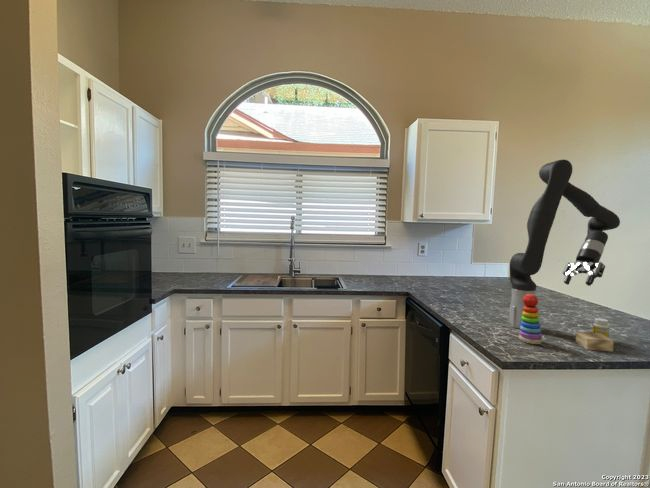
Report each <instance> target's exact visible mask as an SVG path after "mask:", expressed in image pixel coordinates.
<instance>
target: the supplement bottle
mask: <svg viewBox="0 0 650 488" xmlns="http://www.w3.org/2000/svg"><path fill="white" fill-rule="evenodd" d="M593 321H594V323H593V325H592V333H601V334H603V335H604V336H606V337H608V338H609V333H610V332H609V331H610V326H609V320H608V319H606V318H599V317H595V318H594V320H593Z"/></svg>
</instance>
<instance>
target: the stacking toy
mask: <svg viewBox="0 0 650 488" xmlns="http://www.w3.org/2000/svg"><path fill="white" fill-rule="evenodd" d="M523 303H524V304H525V305H526V306H524V307H523V310H524V311H523V312H522V315H523V316H522V317H521V319H522V321H521V326H520V329H519V335H518V339H519V340H520V342H523V343H525V342H526V344H529V343H530V345H541V344H542V343H543V341H544V339H543V334H542V329H541V323H540V317H539V308H538V307H537V305H538V303H539V299H538V297H537V295H536V296H535V295H532V294H527V295H525V296H524V297H523Z"/></svg>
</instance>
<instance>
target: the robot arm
mask: <svg viewBox="0 0 650 488" xmlns="http://www.w3.org/2000/svg"><path fill="white" fill-rule="evenodd" d="M538 171H539V172H538V175H539V179H541V181H542V182H543V183H545V184H546V187H545V190H544V191H543V193H542V194H541V196H540V197H539V198H538V199H537V201H536V202H534V205H533V206H532V208H531V210H530V213H529V216H528V218H527V223H526V229H527V235H528V237H527V238H528V242H527V246H526V249H525V251H524V252H518V253H514V255H512V256H511V258H510V261H509V280H510V283H511V302H510V303H509V318H508V319H509V320H508V322H509V325H510V326H511V327H512V328H514V329H519V330H521V329H520V326H521V321H522V319H521V317H522V316H523V315H522V312H523V311H524V310H523V307H524V306H526V305H525V304H524V303H523V297H524V296H525V295H527V294H532V295H535V296H536V297H537V284H536V283H535V282H534V280H533V279H532V277H531V276H533V275H536V274H537V273H538V272H539V271H540V270H541V267H542V264H543V259H544V254H545V249H546V245H547V243H548V239H549V237H550V236H549V235H550V232H551V229H552V227H553V224H554V221H555V219H556V215H557V212H558V208H559V206H560V204H561V200H562V198H565V200H567V201H568V202H569V203H571V204H572V206H574V208H576V210H578V211H579V213H580V214H581V215H582V216H584V217H586V218H590V219H589V220H588V222H587V233H586V234H587V235H586V237H585V239H584V241H583V242H582V245H581V246H580V249H579V251H578V253H577V255H576V257H575V261H574V263H571V262H567V263H566V264H565V266H564V268H563V270H562V272H561V274H562V275H564V279H563V280H562V281H563V283H564V284H565V285H570V283H571V280H572V278H573V277H574V276H577V275H579V274H589V275H587V278H586V281H585V285H586V286H589V287H591V285H593V283H594V281H595V279H597V278H602V277H603V274H604V272H605V268H606V265H605V264H604V263H603V262H602V261H600V260H601V258H602V255H603V253H604V250H605V246H606V244H607V242H608V240H609V235H608V233H606V232H605V231H611V230H614V229H617V228H618V227H619V226H620V224H621V219H620V217H619V216H618V215H617V214H616V213H615V212H613V211H612V210H610V209H609V208H606V207H605V206H603V205H601V204H600V203H599V202H598V201H597V200H596V199H595V198H594V197H593V196H592V195H591V194H589V193H588V192H586V191H585V190H583V189H581V188H579V187H577V186H575V185H574V184H572V183H571V182H569V181H570V179H571V177H572V175H573V164H572V163H571V162H570V161H569V160H568V159H558V160H554V161H551V162H547V163H546V164H544V165H542V166H541V167H540V169H539V170H538ZM595 269H596V270H595ZM594 270H595V271H594Z"/></svg>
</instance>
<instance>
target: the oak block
mask: <svg viewBox="0 0 650 488" xmlns="http://www.w3.org/2000/svg"><path fill="white" fill-rule="evenodd" d="M575 343H577V344H579V345H580V346H581V347H582V348H584V349H586V350H591V351H602V352H603V351H604V352H614V343H615V341H614V340H613V339H611V338H608V337H606V336H604V335H603V334H601V333H593V332H586V331H576V332H575Z"/></svg>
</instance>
